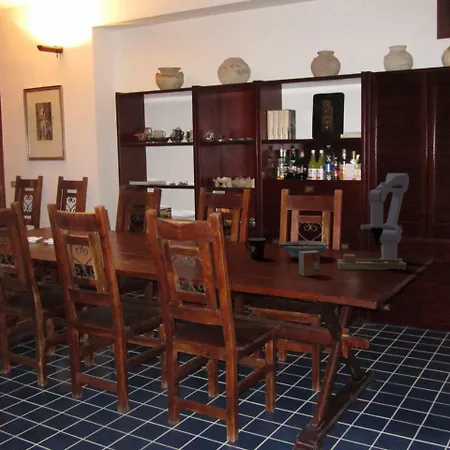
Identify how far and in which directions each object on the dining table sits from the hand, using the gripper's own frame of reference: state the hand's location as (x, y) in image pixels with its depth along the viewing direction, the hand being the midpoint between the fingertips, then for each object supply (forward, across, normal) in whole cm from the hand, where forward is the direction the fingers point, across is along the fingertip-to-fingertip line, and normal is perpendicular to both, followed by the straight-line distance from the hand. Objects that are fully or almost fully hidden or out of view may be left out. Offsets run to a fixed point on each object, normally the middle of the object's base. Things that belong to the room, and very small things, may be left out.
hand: (376, 244), depth 286 cm
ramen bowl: (+11, -33, +22) cm, 41 cm away
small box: (+11, -32, -19) cm, 39 cm away
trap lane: (+10, -3, -3) cm, 11 cm away
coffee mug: (+11, -58, +24) cm, 64 cm away
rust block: (+8, -13, -3) cm, 16 cm away
